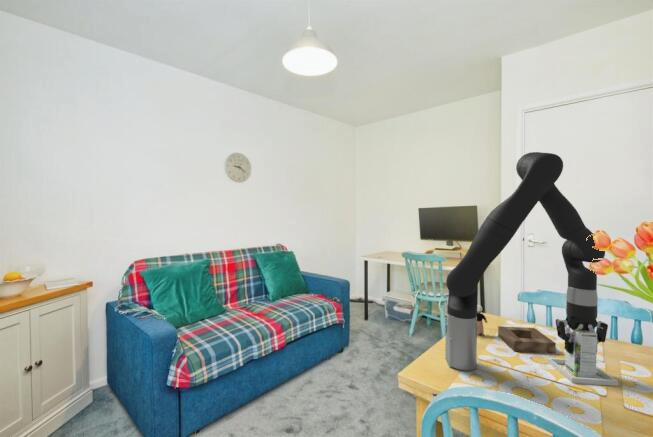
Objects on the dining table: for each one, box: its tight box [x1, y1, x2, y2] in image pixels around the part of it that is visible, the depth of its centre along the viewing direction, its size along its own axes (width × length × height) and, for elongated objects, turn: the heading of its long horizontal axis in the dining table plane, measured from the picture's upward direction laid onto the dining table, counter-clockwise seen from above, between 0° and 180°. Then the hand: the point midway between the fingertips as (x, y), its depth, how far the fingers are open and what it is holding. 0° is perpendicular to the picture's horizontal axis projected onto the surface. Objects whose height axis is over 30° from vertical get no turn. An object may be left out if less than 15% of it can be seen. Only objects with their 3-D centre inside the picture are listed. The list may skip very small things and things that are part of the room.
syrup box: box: [564, 325, 598, 379], centre depth 96 cm, size 6×6×14 cm
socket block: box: [497, 325, 557, 355], centre depth 117 cm, size 14×14×4 cm
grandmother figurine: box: [477, 304, 488, 337], centre depth 126 cm, size 8×4×13 cm, turn 108°
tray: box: [547, 357, 619, 387], centre depth 96 cm, size 12×12×2 cm
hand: (580, 353), depth 96 cm, fingers closed on syrup box, 6 cm apart
